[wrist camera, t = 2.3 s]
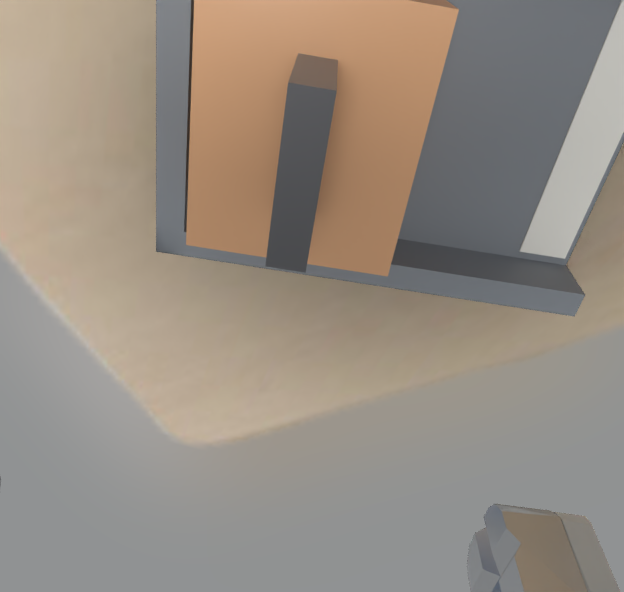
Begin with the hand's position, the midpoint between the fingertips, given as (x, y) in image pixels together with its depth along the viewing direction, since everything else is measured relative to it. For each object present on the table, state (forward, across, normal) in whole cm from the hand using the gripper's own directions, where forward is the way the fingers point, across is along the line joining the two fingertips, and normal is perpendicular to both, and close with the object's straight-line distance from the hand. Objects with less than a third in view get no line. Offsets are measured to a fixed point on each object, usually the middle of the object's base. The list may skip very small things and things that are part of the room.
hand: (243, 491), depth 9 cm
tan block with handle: (+26, 0, 0) cm, 26 cm away
